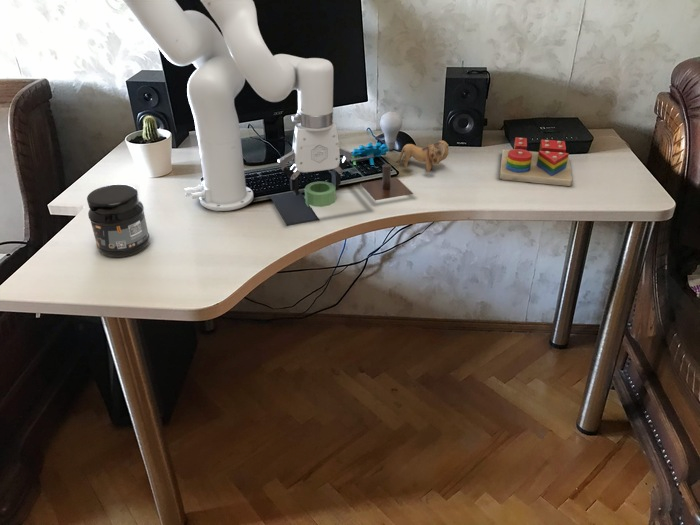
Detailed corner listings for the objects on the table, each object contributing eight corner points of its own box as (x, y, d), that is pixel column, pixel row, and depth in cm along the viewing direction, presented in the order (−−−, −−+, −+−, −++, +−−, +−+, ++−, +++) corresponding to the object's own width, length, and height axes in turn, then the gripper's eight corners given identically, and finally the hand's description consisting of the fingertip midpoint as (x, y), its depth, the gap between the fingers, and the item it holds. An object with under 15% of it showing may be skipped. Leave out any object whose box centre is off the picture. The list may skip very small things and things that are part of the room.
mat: (286, 225, 131) (286, 224, 131) (270, 197, 143) (270, 195, 143) (370, 210, 137) (370, 209, 137) (348, 184, 149) (348, 183, 149)
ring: (310, 211, 136) (310, 196, 134) (302, 198, 141) (301, 184, 139) (339, 206, 138) (339, 191, 136) (330, 193, 143) (329, 179, 141)
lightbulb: (376, 147, 170) (377, 109, 164) (396, 145, 171) (397, 107, 166) (383, 155, 165) (384, 116, 159) (404, 152, 166) (406, 114, 161)
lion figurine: (449, 171, 156) (452, 138, 151) (443, 179, 151) (446, 145, 147) (396, 162, 161) (397, 130, 156) (389, 170, 156) (390, 137, 152)
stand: (374, 204, 139) (375, 176, 136) (359, 187, 147) (359, 160, 144) (413, 198, 142) (415, 170, 139) (396, 181, 150) (397, 155, 146)
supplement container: (105, 234, 128) (92, 183, 122) (155, 232, 129) (145, 181, 122) (91, 260, 119) (76, 206, 113) (144, 258, 120) (133, 205, 113)
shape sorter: (567, 160, 162) (572, 138, 158) (571, 186, 147) (576, 164, 144) (501, 154, 165) (504, 133, 162) (499, 179, 151) (502, 157, 148)
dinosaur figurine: (387, 152, 162) (388, 137, 152) (391, 172, 161) (392, 158, 151) (347, 159, 162) (345, 144, 152) (350, 179, 161) (349, 166, 151)
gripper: (281, 128, 123) (283, 202, 133) (358, 120, 129) (356, 192, 138) (272, 116, 129) (275, 188, 138) (346, 109, 134) (345, 179, 144)
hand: (315, 190), depth 138 cm, fingers open, 9 cm apart
